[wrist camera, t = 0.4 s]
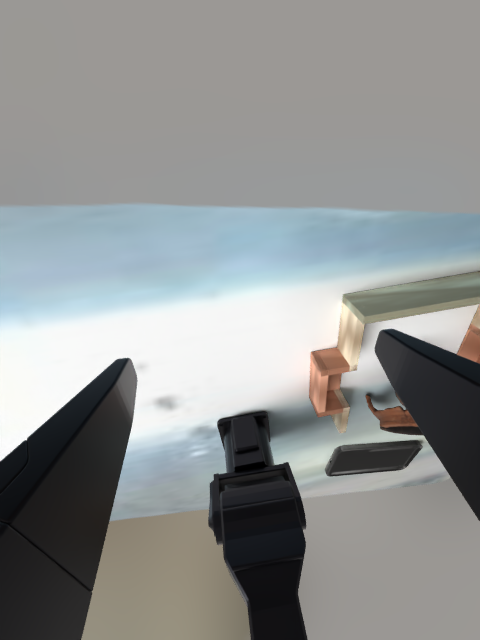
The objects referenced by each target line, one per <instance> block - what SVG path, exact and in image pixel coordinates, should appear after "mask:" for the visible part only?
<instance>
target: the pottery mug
mask: <svg viewBox="0 0 480 640" xmlns="http://www.w3.org/2000/svg"><path fill="white" fill-rule="evenodd" d="M395 393H396V392H395ZM396 396H397V398H398V399H399V400H400V402H401V404H402V405H404V404H403V403H402V401H401V399H400V398H399V396H398V395H397V393H396ZM365 397H366V399H367V403H368V407H369V409H370V410H371V411H372V413H373V414H374V415H375V416H376V417H377V418H378V419H379V420H380V429H382V430H385V431H388V432H393V433H399V434H408V435H423V433H422V432H421V430H420V429H419V427H418V426H417V424H416V423H415V421H414V419H413V418H412V416H411V415H410V413H409V412H408V410H407V409H406V410H403V408H402V407H401V406H397V407H394V408H387V409H385V410H377V409H375V408H374V407H373V405H372V402H371V398H370V396H368V395H366V396H365Z"/></svg>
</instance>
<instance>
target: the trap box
mask: <svg viewBox="0 0 480 640" xmlns="http://www.w3.org/2000/svg"><path fill="white" fill-rule="evenodd" d="M476 304H480V271H478V272H472V273H466V274H461V275H455V276H449V277H443V278H437V279H431V280H426V281H420V282H414V283H408V284H402V285H396V286H391V287H385V288H379V289H373V290H367V291H361V292H356V293H350V294H344V295H343V301H342V310H341V318H340V327H339V336H338V345H337V348H331V349H325V350H320V351H314V352H311V363H310V388H309V398H310V400H311V403H312V405H313V407H314V409H315V412H316V414H317V416H318V417H322V416H328V415H331V417H332V419H333V421H334V423H335V425H336V427H337V429H338V431H339V433H344V432H346V427H347V422H348V416H349V410H350V406H349V404H348V403H347V401H346V399H345V397H344V396H343V394H342V392H341V390H340V381H341V374H342V373H344V372H350V371H355V370H357V365H358V360H359V354H360V348H361V343H362V337H363V331H364V326H365V324H368V323H374V322H380V321H386V320H391V319H397V318H403V317H408V316H414V315H420V314H425V313H431V312H437V311H442V310H448V309H454V308H459V307H465V306H471V305H476ZM457 355H459V356H462V357H464V358H467V359H469V360H472V361H474V362H477V363H479V364H480V305H479V307H478V309H477V311H476V314H475V316H474V318H473V320H472V322H471V325H470V327H469V329H468V331H467V333H466V336H465V338H464V340H463V342H462V344H461V347H460V349H459V351H458V353H457Z"/></svg>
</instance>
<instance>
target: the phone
mask: <svg viewBox="0 0 480 640" xmlns="http://www.w3.org/2000/svg"><path fill="white" fill-rule="evenodd" d="M421 449H422V445H421V444H420V442H419V441H417V440H415V441H400V442H386V443H372V444H358V445H344V446H339V447H337V448H336V449H335V450H334V452H333V454H332V456H331V458H330V460H329V462H328V464H327V466H326V468H325V472H326V474H327V476H341V475H352V474H363V473H374V472H385V471H396V470H402V469H404V468H406V467H407V466H408V465H409V463H410V462H411V461H412V460H413V458H414V457H415V456H416V455H417V454H418V452H419V451H420V450H421ZM331 459H332V461H331ZM330 461H331V462H330Z"/></svg>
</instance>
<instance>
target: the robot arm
mask: <svg viewBox="0 0 480 640" xmlns="http://www.w3.org/2000/svg"><path fill="white" fill-rule="evenodd" d="M375 353H376V355H377V357H378V359H379V361H380V363H381V365H382V367H383V369H384V371H385V373H386V375H387V377H388V379H389V381H390V383H391V385H392V387H393V388H394V390H395V392H396V393H397V395H398V396H399V398H400V399H401V401H402V403H403V404H404V406H405V407H406V409H407V410H408V412H409V413H410V415H411V416H412V418H413V419H414V421H415V423H416V424H417V426H418V427H419V429H420V430H421V432H422V433H423V435H424V436H425V438H426V439H427V441H428V443H429V444H430V446H431V447H432V449H433V450H434V452H435V453H436V455H437V456H438V458H439V459H440V461H441V463H442V464H443V466H444V467H445V469H446V470H447V472H448V473H449V475H450V476H451V478H452V479H453V481H454V483H455V484H456V486H457V487H458V489H459V490H460V492H461V493H462V495H463V496H464V498H465V500H466V501H467V503H468V504H469V506H470V507H471V509H472V510H473V512H474V513H475V515H476V516H477V518H478V520H479V521H480V364H479V363H477V362H474V361H472V360H469V359H467V358H464V357H462V356H459V355H457V354H454V353H452V352H449V351H447V350H444V349H442V348H439V347H437V346H434V345H432V344H429V343H427V342H424V341H422V340H419V339H417V338H414V337H412V336H409V335H407V334H404V333H402V332H400V331H397V330H395V329H385V330H381V331H380V332H379V335H378V338H377V342H376V345H375ZM136 389H137V375H136V372H135V369H134V366H133V363H132V361H131V359H130V358H122V359H117V360H116V361H114V362H113V363H112V364H111V365H110V366H109V367H108V368H106V369H105V370H104V371H103V372H102V373H101V374H100V375H99V376H97V377H96V378H95V379H94V380H93V381H92V382H91V383H89V384H88V385H87V386H86V387H85V388H84V389H83V390H81V391H80V392H79V393H78V394H77V395H76V396H75V397H73V398H72V399H71V400H70V401H69V402H68V403H67V404H66V405H64V406H63V407H62V408H61V409H60V410H59V411H58V412H56V413H55V414H54V415H53V416H52V417H51V418H50V419H48V420H47V421H46V422H45V423H44V424H43V425H42V426H40V427H39V428H38V429H37V430H36V431H35V432H34V433H33V434H31V435H30V436H29V437H28V438H27V440H25V441H23V442H22V443H21V444H20V445H19V446H18V447H16V448H15V449H14V450H13V451H12V452H11V453H10V454H8V455H7V456H6V457H5V458H4V459H2V460H1V461H0V640H81V638H82V634H83V630H84V625H85V621H86V617H87V612H88V609H89V605H90V600H91V595H92V592H91V591H92V590H93V587H94V583H95V579H96V574H97V570H98V566H99V562H100V557H101V553H102V549H103V545H104V541H105V536H106V532H107V528H108V524H109V520H110V516H111V511H112V507H113V503H114V499H115V495H116V490H117V486H118V482H119V478H120V474H121V469H122V465H123V461H124V457H125V453H126V448H127V444H128V440H129V436H130V432H131V427H132V422H133V415H134V406H135V397H136ZM217 426H218V429H219V433H220V436H221V440H222V443H223V447H224V450H225V457H226V470H227V473H224V474H219V473H218V474H214V480H213V481H212V482H211V483H210V507H209V520H208V521H209V527H210V528H211V529H212V530H213V531H214V536H216V541H217V545H221V544H223V552H224V560H225V563H226V566H227V568H228V571H229V573H230V576H231V578H232V579H233V581H234V583H235V585H236V587H237V589H238V591H239V592H240V594H241V596H242V598H243V600H244V602H245V604H246V605H247V607H248V615H249V625H250V634H251V640H307V635H306V630H305V626H304V621H303V617H302V612H301V607H300V603H299V597H298V588H299V581H300V576H301V571H302V565H303V559H304V554H305V547H306V542H305V537H304V533H303V529H306V519H305V513H304V508H303V504H302V500H301V496H300V493H299V490H298V488H297V485H296V482H295V479H294V477H293V474H292V471H291V468H290V466H289V463H288V462H286V463H284V464H279V465H274V461H273V456H272V452H271V448H270V443H269V442H270V432H269V422H268V415H267V412H260V413H255V414H249V415H244V416H238V417H233V418H228V419H222V420H219V421H218V422H217Z"/></svg>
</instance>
